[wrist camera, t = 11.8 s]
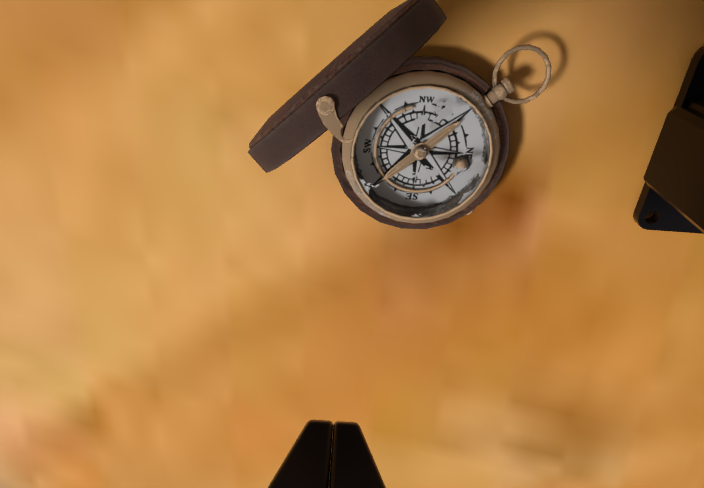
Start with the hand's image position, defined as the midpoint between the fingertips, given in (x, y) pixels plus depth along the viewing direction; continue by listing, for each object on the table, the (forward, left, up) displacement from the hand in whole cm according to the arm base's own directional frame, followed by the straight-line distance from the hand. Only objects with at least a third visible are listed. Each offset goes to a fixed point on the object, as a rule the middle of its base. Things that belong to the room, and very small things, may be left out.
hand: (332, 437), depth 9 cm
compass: (-2, -2, -12) cm, 13 cm away
